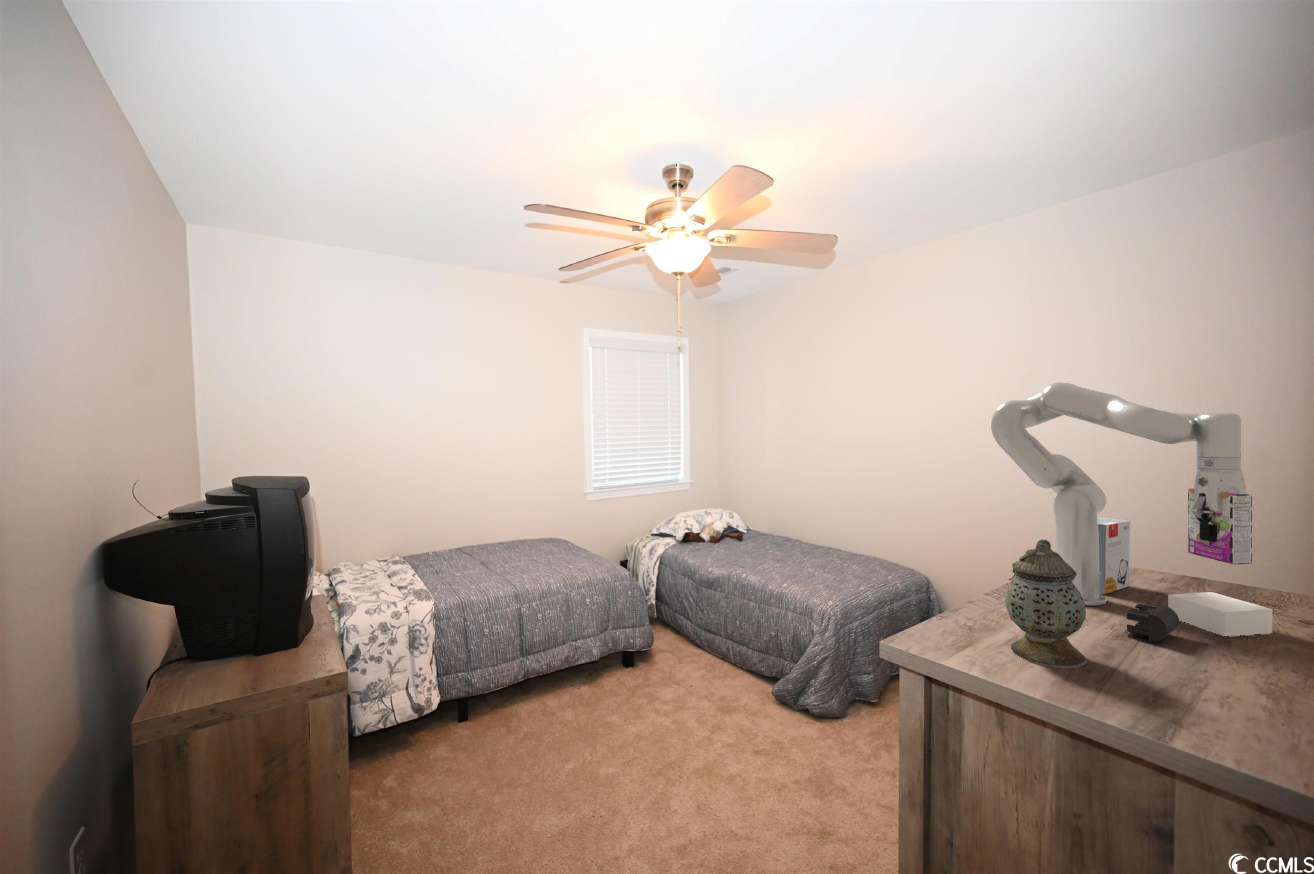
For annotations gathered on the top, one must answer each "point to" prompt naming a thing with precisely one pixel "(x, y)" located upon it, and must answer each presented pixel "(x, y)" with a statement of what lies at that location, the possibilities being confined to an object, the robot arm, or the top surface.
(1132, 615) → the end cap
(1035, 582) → the lantern
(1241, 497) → the candy bar box
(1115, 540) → the hard drive box
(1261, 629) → the painted block
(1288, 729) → the top surface
